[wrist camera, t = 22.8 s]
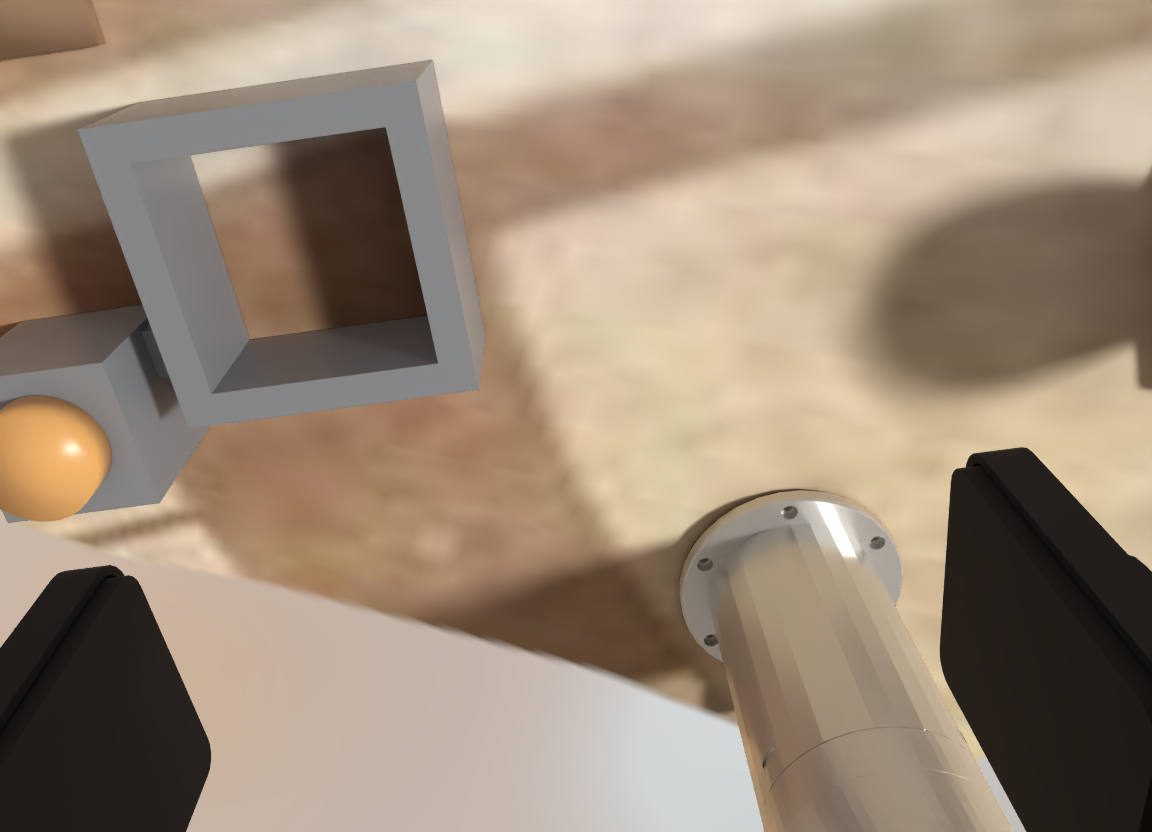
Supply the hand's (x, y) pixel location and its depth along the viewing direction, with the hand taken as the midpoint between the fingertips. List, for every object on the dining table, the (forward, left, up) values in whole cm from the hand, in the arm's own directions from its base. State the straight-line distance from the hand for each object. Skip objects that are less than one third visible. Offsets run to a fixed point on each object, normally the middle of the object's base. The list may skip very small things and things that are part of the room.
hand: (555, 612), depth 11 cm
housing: (-6, +15, -34) cm, 38 cm away
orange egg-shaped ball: (-10, +23, -31) cm, 40 cm away
